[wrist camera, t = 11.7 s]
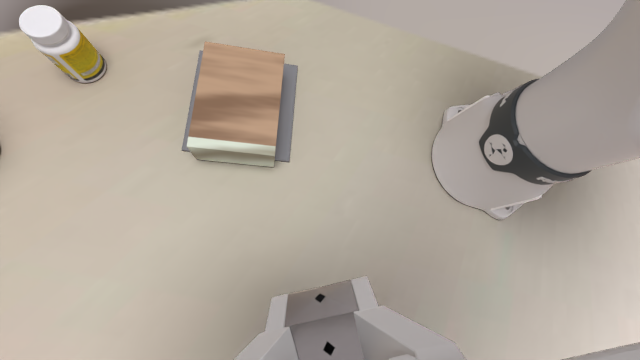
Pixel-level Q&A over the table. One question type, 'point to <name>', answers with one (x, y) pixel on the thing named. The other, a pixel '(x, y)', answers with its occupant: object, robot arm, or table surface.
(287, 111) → the mat
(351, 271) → the table surface
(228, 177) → the table surface
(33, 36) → the supplement bottle
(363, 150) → the table surface
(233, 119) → the walnut block
